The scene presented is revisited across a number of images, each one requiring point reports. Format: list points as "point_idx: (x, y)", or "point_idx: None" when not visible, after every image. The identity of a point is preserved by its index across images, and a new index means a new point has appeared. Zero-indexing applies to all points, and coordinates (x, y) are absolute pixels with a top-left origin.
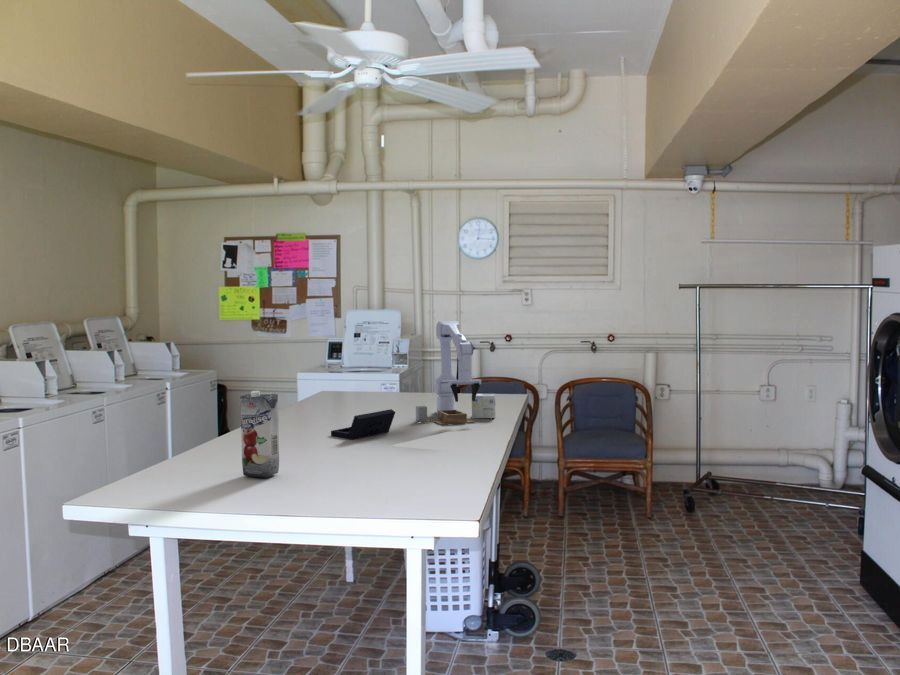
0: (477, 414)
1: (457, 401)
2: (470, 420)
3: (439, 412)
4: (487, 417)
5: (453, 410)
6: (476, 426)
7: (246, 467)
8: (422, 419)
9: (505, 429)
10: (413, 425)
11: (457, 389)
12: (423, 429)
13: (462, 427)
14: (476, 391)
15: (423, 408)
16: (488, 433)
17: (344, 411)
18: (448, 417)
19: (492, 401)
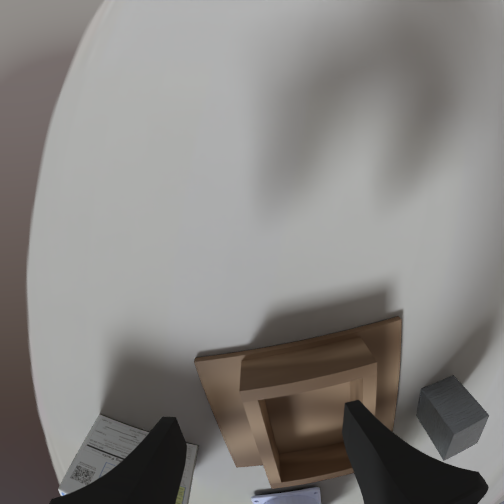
0: None
1: (350, 403)
2: (213, 392)
3: None
4: (126, 428)
5: (289, 479)
6: (198, 248)
7: None
8: (446, 390)
9: (65, 130)
10: (486, 326)
11: (411, 487)
12: (485, 220)
13: (294, 231)
14: (110, 477)
15: (466, 422)
16: (177, 26)
17: (489, 483)
18: (365, 355)
19: (77, 472)
